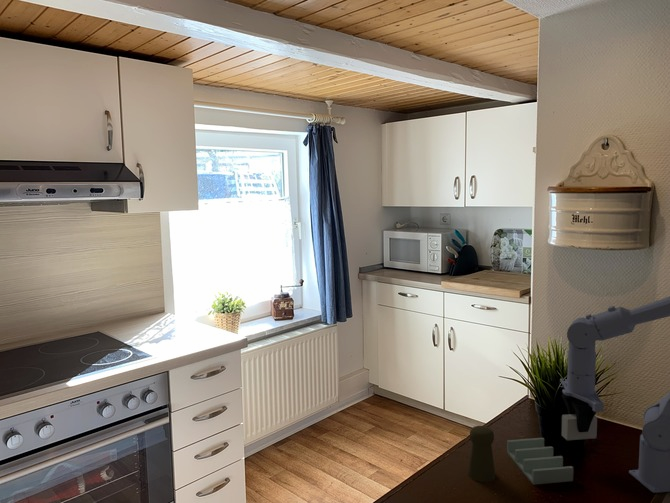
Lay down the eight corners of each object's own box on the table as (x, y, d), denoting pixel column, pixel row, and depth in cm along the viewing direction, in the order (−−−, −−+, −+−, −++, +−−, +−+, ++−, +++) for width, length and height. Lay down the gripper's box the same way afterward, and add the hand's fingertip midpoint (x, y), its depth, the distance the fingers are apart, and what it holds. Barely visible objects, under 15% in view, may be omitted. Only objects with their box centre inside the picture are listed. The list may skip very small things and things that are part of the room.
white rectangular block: (590, 433, 121) (591, 412, 120) (596, 438, 118) (597, 417, 118) (561, 435, 120) (562, 414, 120) (567, 440, 118) (567, 419, 117)
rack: (542, 449, 126) (543, 437, 126) (573, 481, 113) (573, 467, 113) (507, 452, 126) (507, 440, 125) (533, 484, 112) (533, 471, 112)
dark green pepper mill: (488, 485, 112) (488, 437, 111) (462, 476, 116) (462, 429, 115) (500, 473, 117) (500, 427, 116) (475, 464, 121) (475, 419, 119)
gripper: (548, 361, 124) (547, 415, 126) (582, 384, 110) (580, 445, 112) (576, 359, 125) (575, 413, 126) (613, 382, 110) (611, 442, 112)
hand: (579, 428), depth 119 cm, fingers closed on white rectangular block, 2 cm apart
